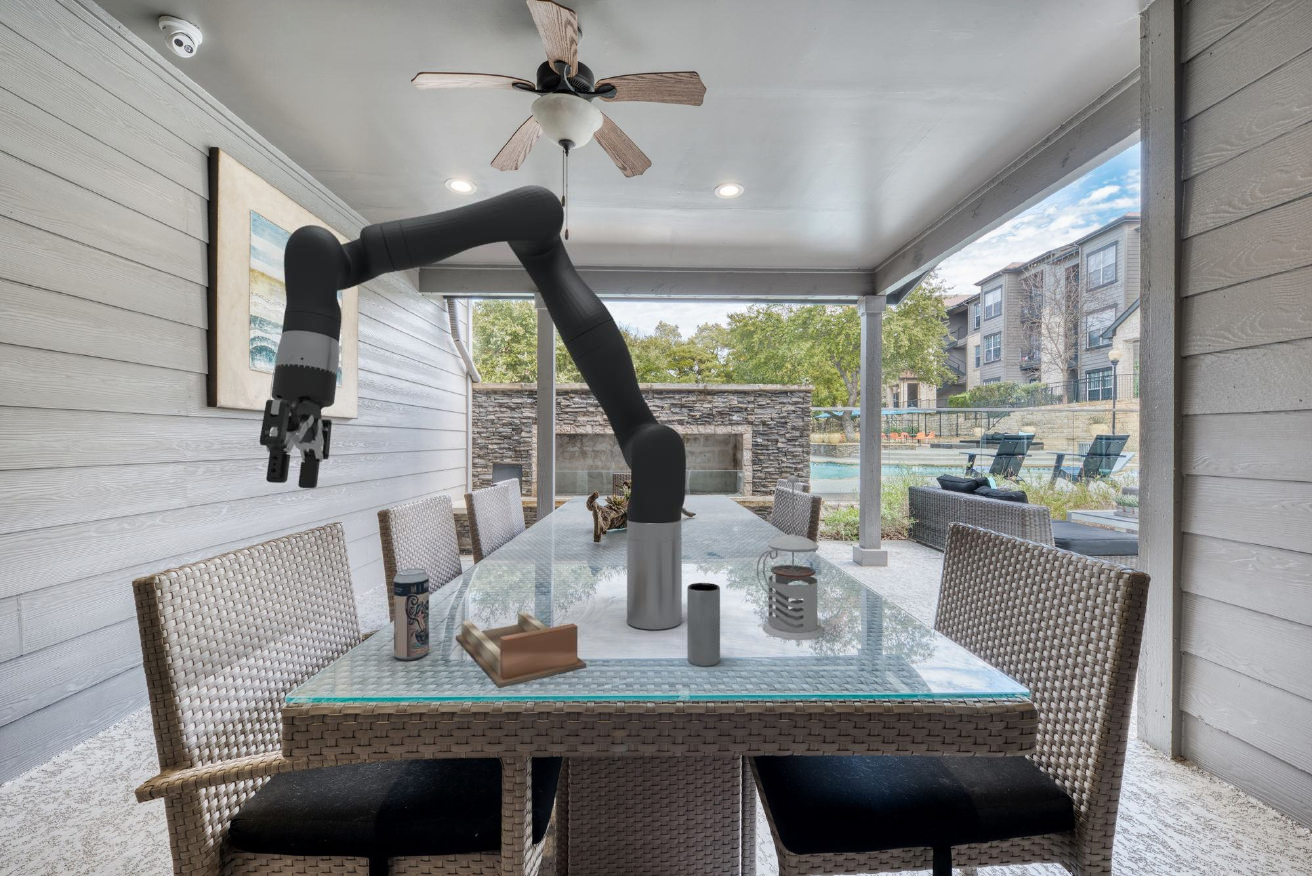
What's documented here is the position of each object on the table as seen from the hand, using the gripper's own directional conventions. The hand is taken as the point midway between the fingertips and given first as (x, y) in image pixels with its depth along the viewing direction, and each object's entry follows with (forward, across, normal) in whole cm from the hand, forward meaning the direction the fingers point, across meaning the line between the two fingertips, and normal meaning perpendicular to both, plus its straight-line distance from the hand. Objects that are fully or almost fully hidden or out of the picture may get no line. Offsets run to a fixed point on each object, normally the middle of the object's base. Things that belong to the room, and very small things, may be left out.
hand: (292, 485), depth 79 cm
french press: (+20, +12, -73) cm, 77 cm away
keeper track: (+23, +6, -31) cm, 39 cm away
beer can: (+24, +7, -16) cm, 29 cm away
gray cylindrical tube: (+23, 0, -57) cm, 61 cm away
